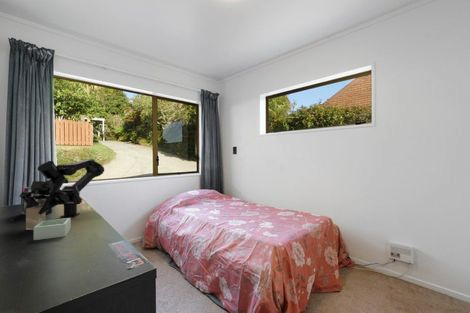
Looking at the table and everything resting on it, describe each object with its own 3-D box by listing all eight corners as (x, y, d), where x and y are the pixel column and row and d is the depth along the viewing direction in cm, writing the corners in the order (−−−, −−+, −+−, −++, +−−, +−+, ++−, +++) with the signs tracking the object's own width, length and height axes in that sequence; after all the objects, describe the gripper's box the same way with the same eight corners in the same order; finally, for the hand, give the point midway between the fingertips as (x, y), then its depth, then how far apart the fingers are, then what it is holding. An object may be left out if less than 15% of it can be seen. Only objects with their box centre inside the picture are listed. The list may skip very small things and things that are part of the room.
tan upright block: (34, 226, 99) (34, 206, 99) (45, 226, 99) (45, 206, 99) (25, 229, 95) (26, 208, 95) (37, 229, 95) (37, 208, 95)
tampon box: (21, 214, 119) (21, 187, 119) (42, 210, 128) (42, 185, 128) (30, 216, 114) (31, 188, 114) (52, 212, 122) (52, 186, 122)
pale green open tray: (42, 232, 91) (42, 220, 91) (70, 229, 96) (70, 217, 96) (33, 240, 83) (33, 227, 83) (65, 236, 87) (65, 224, 87)
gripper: (23, 174, 100) (-3, 203, 89) (64, 174, 101) (43, 203, 90) (38, 188, 108) (16, 217, 97) (76, 189, 109) (58, 217, 98)
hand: (33, 213), depth 95 cm, fingers open, 5 cm apart
